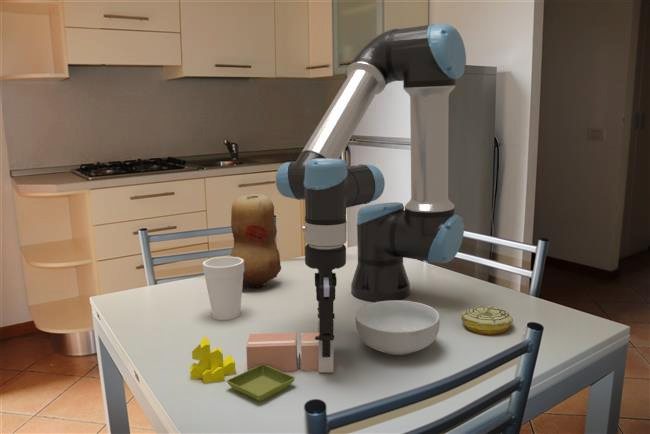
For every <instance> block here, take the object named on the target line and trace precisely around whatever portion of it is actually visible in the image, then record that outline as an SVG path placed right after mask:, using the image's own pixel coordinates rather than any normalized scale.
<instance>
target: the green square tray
mask: <svg viewBox="0 0 650 434" xmlns="http://www.w3.org/2000/svg"><path fill="white" fill-rule="evenodd" d="M295 379H296V377H295V376H293V375H290V374H289V373H286V372H285V371H279V370H277V369H274V368H272V367H270V366H267V365H265V364H262V365H259V366H257V367H255V368H253V369H250V370H246V371H244V372H243V373H240V374H237V375H235V376H233V377H230V378H229V379H226V383H227V384H228V385H229V386H230V387H231V388H232V389H234V390H235V391H237V392H239V393H241V394H243V395H246V396H248V397H249V398H252V399H253V400H256V401H258V402H262V401H264V400H265V399H267V398H270V397H272V396H274V395H276V394H277V393H280V392H282V391H284V390H286V389H287V388H289V386H290V385H292V383H293V382H294V381H295Z"/></svg>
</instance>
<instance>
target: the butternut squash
mask: <svg viewBox="0 0 650 434" xmlns="http://www.w3.org/2000/svg"><path fill="white" fill-rule="evenodd" d="M230 215H231V220H230V224H231V225H230V227H231V232H232V237H233V247H232V250H231V253H230V255H229V257H239V258H242V259H243V260H244V273H243V285H247V286H248V287H249V288H257V287H263V286H264V285H266V284H267V283H269V282H271V280H273V279H275V278H277V276H278V275H279V273H280V272H281V270H282V265H281V256H280V253H279V252H280V251H279V249H278V247H277V243H276V240H275V239H276V236H277V232H278V230H277V227H276V225H275V223H276V221H275V220H276V219H275V206H274V203H273V201H272V200H271V199H270V197H268V196H266V195H264V194H261V193H257V194H256V193H251V194H245V195H242V196H239V197H237V198H236V199H235V200H234V201H233V202H232V205H231V213H230Z"/></svg>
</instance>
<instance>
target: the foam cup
mask: <svg viewBox="0 0 650 434" xmlns="http://www.w3.org/2000/svg"><path fill="white" fill-rule="evenodd" d="M202 270H203V271H202V272H203V275H204V278H205V282H206V284H205V285H206V288H207V295H208V299H209V303H210V307H211V313H212V314H211V315H212V318H213V319H215V320H218V321H229V320H234V319H237V318H239V317H240V315H241V310H242V309H241V308H242V297H243V296H242V295H243V285H244V284H243V273H244V260H243V259H242V258H239V257H230V256H218V257H217V256H216V257H211V258H209V259H206V260H204V261H203V262H202Z"/></svg>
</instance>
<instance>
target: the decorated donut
mask: <svg viewBox="0 0 650 434" xmlns="http://www.w3.org/2000/svg"><path fill="white" fill-rule="evenodd" d="M461 321H462V324H463V325H464V327H466V329H467V330H469V331H471V332H473V333H475V334H476V333H477V334H481V335H491V336H493V335H498V334H504V333H506V332H507V331H508V330H509V329H510V327H511V325H512V324H513V322H514V318H513V317H512V314H510V313H509V312H508V311H506V310H504V309H503V308H499V307H496V306H492V305H479V306H473V307H469V308H466V309H465V310H463V311H462V312H461Z"/></svg>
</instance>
